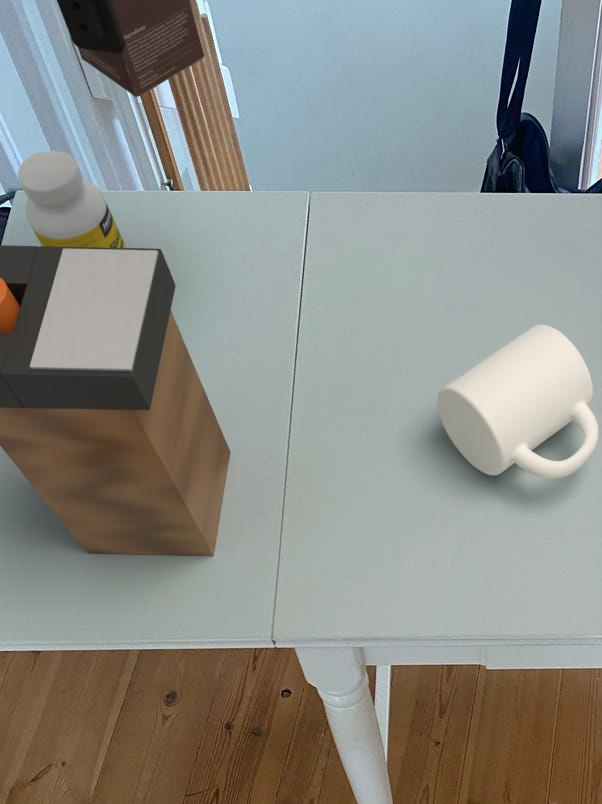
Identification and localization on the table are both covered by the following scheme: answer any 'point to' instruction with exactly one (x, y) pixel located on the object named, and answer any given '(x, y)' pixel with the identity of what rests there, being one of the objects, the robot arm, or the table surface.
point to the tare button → (7, 309)
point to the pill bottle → (65, 204)
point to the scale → (84, 326)
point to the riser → (130, 464)
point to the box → (149, 44)
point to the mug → (521, 405)
